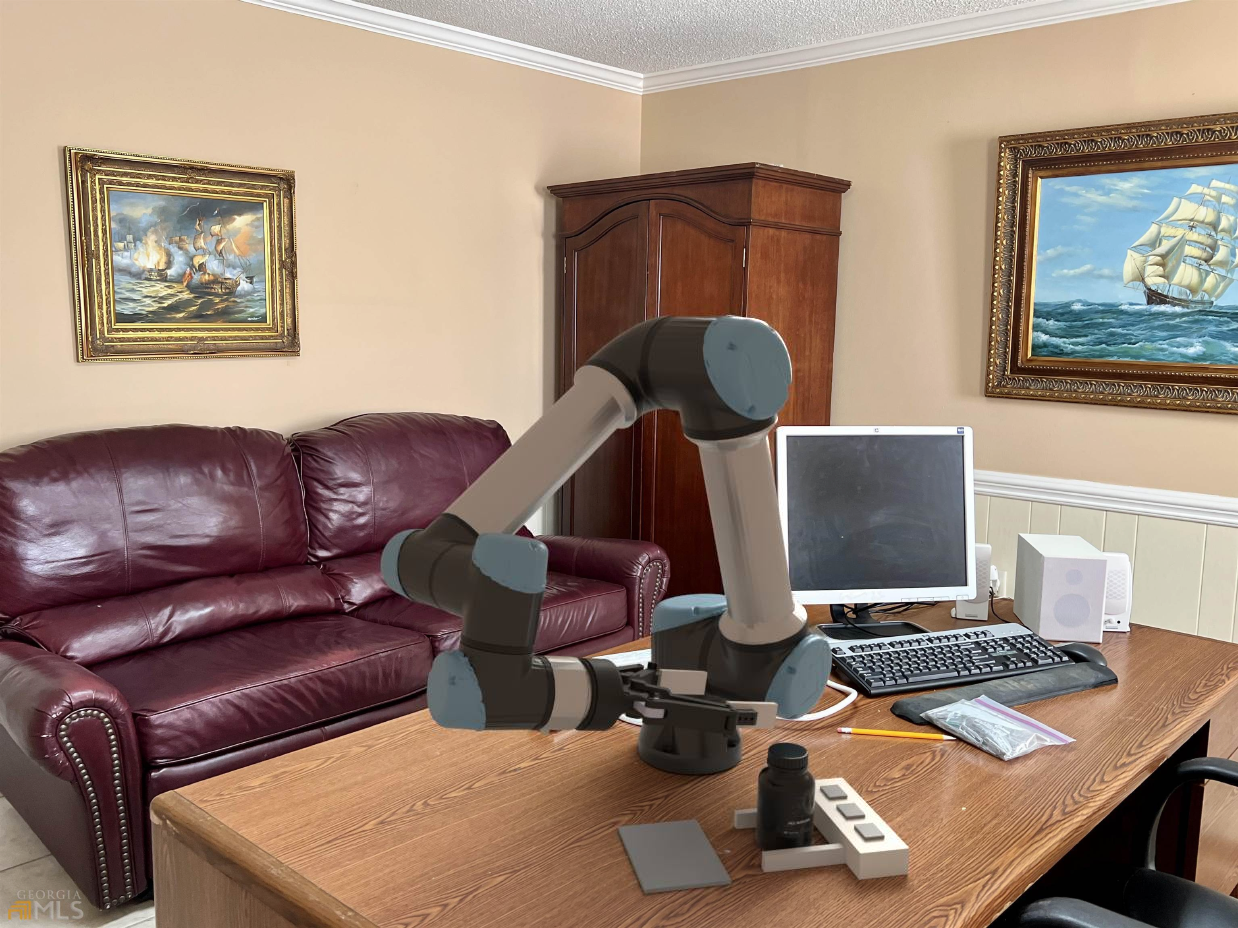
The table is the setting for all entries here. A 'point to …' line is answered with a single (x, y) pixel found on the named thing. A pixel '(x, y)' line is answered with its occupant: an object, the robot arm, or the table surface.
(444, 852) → the table surface
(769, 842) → the supplement bottle
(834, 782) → the power strip dock
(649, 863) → the rubber mat
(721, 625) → the robot arm
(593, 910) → the table surface
